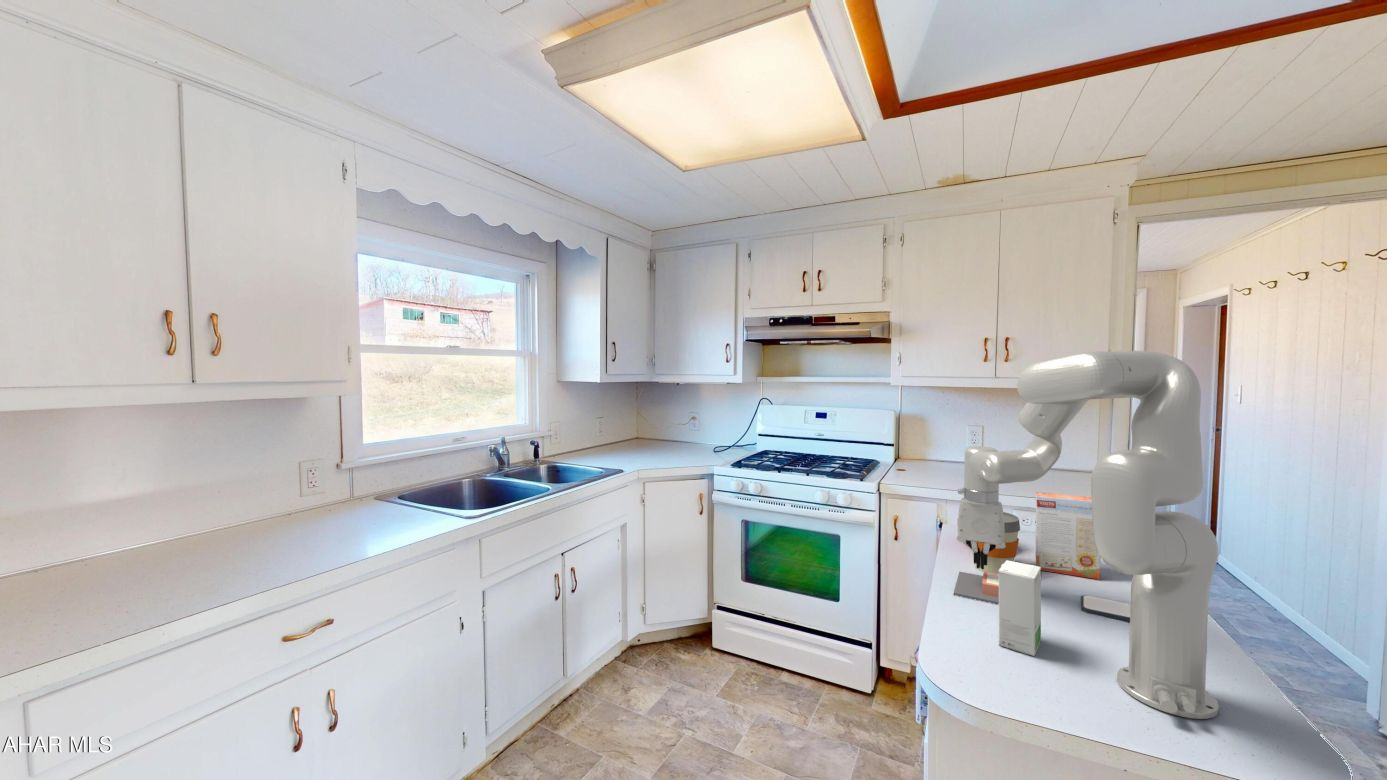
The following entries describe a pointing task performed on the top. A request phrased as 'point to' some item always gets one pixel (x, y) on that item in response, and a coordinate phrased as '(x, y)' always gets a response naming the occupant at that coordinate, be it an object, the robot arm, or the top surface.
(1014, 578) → the skincare box
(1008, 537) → the reusable coffee cup
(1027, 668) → the top surface
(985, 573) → the card box
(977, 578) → the mat
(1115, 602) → the smartphone
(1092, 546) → the cracker box
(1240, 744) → the top surface
